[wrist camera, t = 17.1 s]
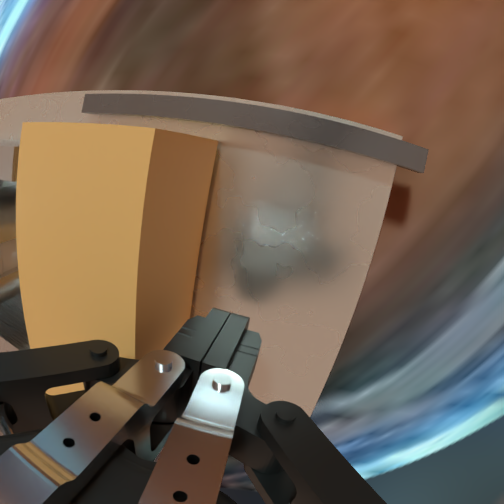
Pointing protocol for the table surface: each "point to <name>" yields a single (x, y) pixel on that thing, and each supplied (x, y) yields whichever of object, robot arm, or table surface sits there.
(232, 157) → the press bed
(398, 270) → the table surface
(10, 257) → the air filter
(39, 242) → the block
